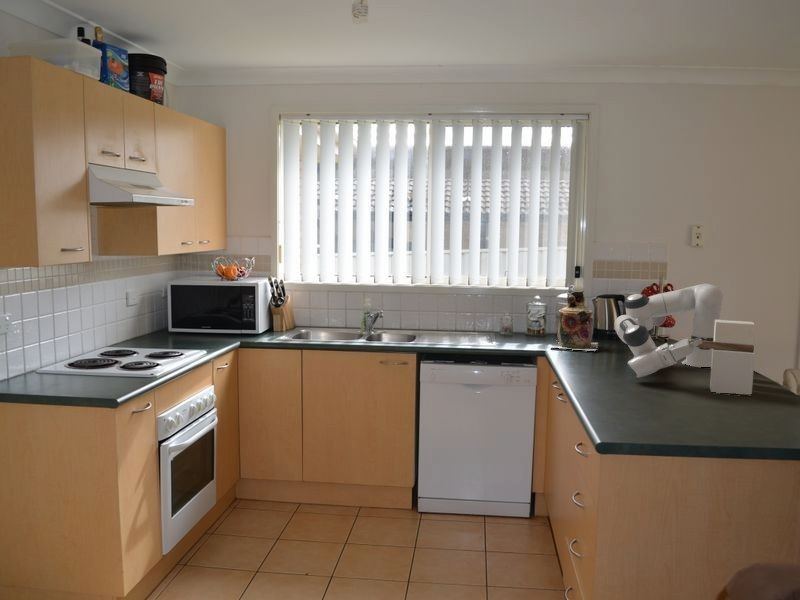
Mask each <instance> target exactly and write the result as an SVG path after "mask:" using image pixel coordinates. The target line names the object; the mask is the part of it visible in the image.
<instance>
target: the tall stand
mask: <svg viewBox="0 0 800 600" xmlns="http://www.w3.org/2000/svg"><path fill="white" fill-rule="evenodd" d="M755 329H756V324H755V323H754V322H753V321H744V320H729V319H728V320H727V319H719V320H715V326H714V341H713V342H725V343H736V344H748V345H755V344H754V343H755V332H756V331H755Z"/></svg>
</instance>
